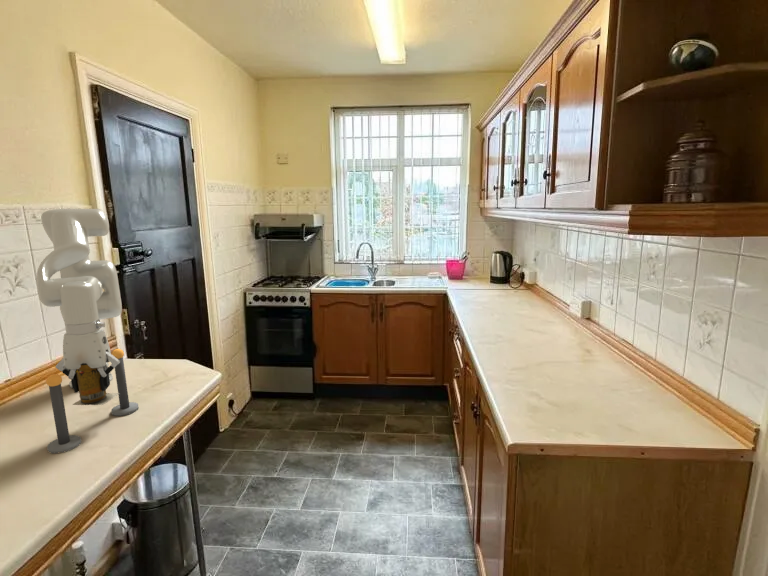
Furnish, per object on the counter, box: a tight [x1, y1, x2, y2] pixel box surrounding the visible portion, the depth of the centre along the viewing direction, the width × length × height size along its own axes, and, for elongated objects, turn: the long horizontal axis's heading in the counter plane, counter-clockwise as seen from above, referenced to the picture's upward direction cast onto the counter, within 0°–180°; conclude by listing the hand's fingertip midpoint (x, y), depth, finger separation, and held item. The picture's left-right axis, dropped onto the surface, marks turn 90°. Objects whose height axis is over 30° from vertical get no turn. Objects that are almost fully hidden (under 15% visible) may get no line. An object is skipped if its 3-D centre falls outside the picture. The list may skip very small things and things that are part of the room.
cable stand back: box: [111, 348, 139, 417], centre depth 128 cm, size 7×7×20 cm
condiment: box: [72, 363, 120, 406], centre depth 118 cm, size 7×8×12 cm
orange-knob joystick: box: [45, 373, 82, 454], centre depth 109 cm, size 7×7×20 cm
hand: (92, 389), depth 119 cm, fingers closed on condiment, 6 cm apart
